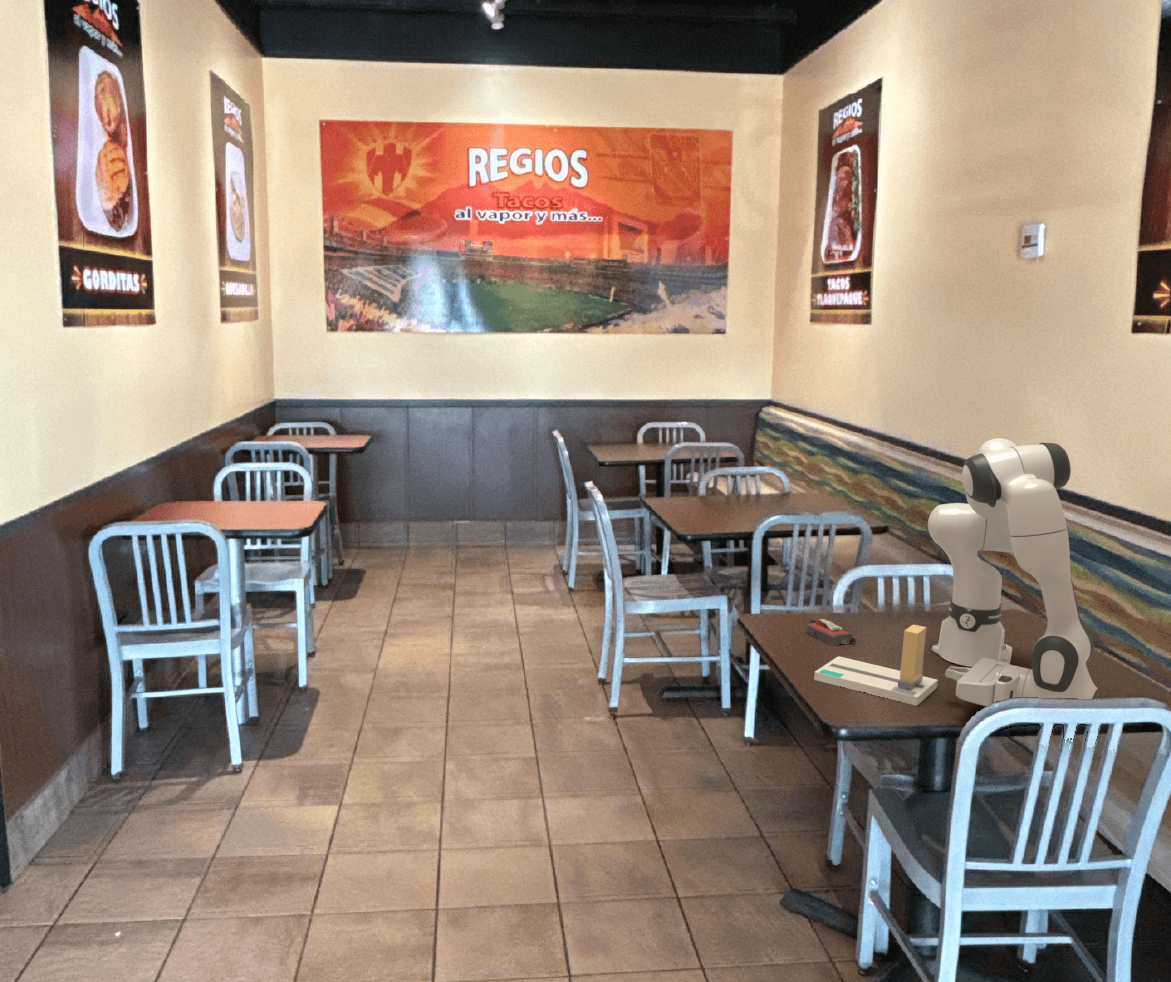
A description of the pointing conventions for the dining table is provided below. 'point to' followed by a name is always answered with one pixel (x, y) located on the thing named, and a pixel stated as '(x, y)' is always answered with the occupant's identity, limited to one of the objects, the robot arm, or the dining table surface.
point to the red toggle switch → (828, 632)
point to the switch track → (873, 680)
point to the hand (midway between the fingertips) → (947, 671)
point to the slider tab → (912, 657)
